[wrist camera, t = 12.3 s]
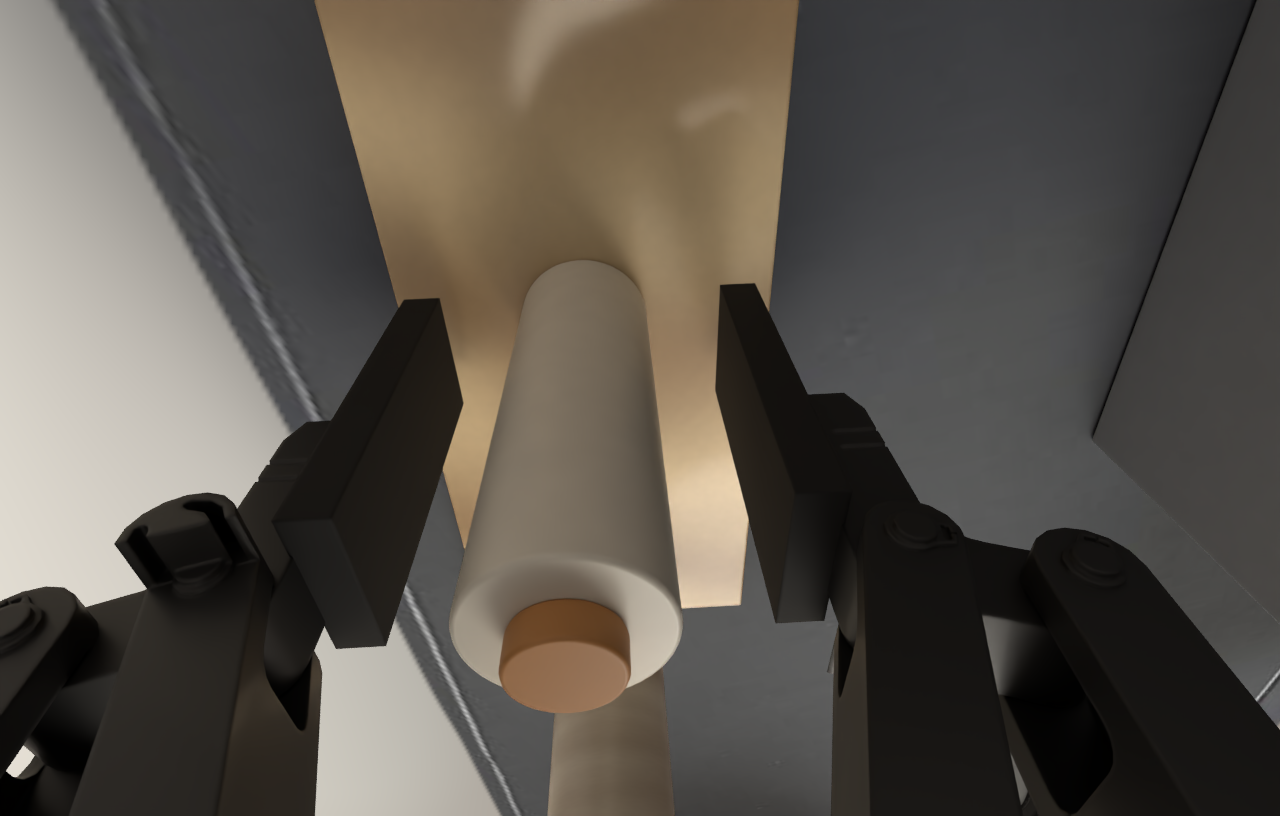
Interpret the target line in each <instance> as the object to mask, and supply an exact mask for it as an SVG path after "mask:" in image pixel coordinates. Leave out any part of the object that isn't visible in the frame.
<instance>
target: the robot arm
mask: <svg viewBox="0 0 1280 816" xmlns="http://www.w3.org/2000/svg"><path fill="white" fill-rule="evenodd" d="M715 392H716V396H717V400H718V403H719V407H720V411H721V415H722V419H723V423H724V426H725V430H726V434H727V438H728V442H729V446H730V450H731V453H732V457H733V461H734V465H735V469H736V473H737V476H738V480H739V484H740V488H741V492H742V496H743V500H744V503H745V507H746V511H747V515H748V519H749V523H750V526H751V530H752V534H753V538H754V542H755V546H756V550H757V553H758V557H759V561H760V565H761V569H762V573H763V576H764V580H765V584H766V588H767V592H768V596H769V600H770V603H771V607H772V611H773V615H774V619H775V623H789V622H807V621H824V619H825V614H826V610H827V605H828V601H829V598H830V601H831V603H832V606H833V609H834V612H835V615H836V618H837V620H838V623H839V625H838V629H837V633H836V637H835V641H834V645H833V650H832V654H831V658H830V662H829V666H828V670H827V672H828V673H833V674H834V681H833V737H832V792H831V816H1023V812H1022V807H1021V802H1020V797H1019V792H1018V787H1017V783H1016V778H1015V773H1014V768H1013V763H1012V758H1011V755H1012V757H1013V759H1014V762H1015V764H1016V766H1017V768H1018V770H1019V773H1020V775H1021V777H1022V779H1023V782H1024V784H1025V786H1026V788H1027V790H1028V793H1029V795H1030V797H1031V799H1032V802H1033V804H1034V806H1035V808H1036V810H1037V813H1038V815H1039V816H1280V730H1279V728H1278V727H1277V726H1276V725H1275V723H1274V722H1273V721H1272V720H1271V718H1270V717H1269V716H1268V715H1267V714H1266V712H1265V711H1264V710H1263V709H1262V707H1261V706H1260V705H1259V704H1258V703H1257V701H1256V700H1255V699H1254V698H1253V696H1252V695H1251V694H1250V693H1249V691H1248V690H1247V689H1246V688H1245V687H1244V685H1243V684H1242V683H1241V682H1240V680H1239V679H1238V678H1237V677H1236V676H1235V674H1234V673H1233V672H1232V671H1231V669H1230V668H1229V667H1228V666H1227V664H1226V663H1225V662H1224V661H1223V660H1222V658H1221V657H1220V656H1219V655H1218V653H1217V652H1216V651H1215V650H1214V648H1213V647H1212V646H1211V645H1210V644H1209V642H1208V641H1207V640H1206V639H1205V637H1204V636H1203V635H1202V634H1201V633H1200V631H1199V630H1198V629H1197V628H1196V626H1195V625H1194V624H1193V623H1192V621H1191V620H1190V619H1189V618H1188V617H1187V615H1186V614H1185V613H1184V612H1183V610H1182V609H1181V608H1180V607H1179V606H1178V604H1177V603H1176V602H1175V601H1174V599H1173V598H1172V597H1171V596H1170V594H1169V593H1168V592H1167V591H1166V590H1165V588H1164V587H1163V586H1162V585H1161V583H1160V582H1159V581H1158V580H1157V578H1156V577H1155V576H1154V575H1153V574H1152V572H1151V571H1150V570H1149V569H1148V567H1147V566H1146V565H1145V564H1144V563H1143V562H1142V561H1140V560H1139V559H1138V558H1137V557H1136V556H1135V555H1134V554H1133V553H1132V552H1131V551H1130V550H1128V549H1126V548H1124V547H1123V546H1121V545H1119V544H1118V543H1116V542H1114V541H1112V540H1111V539H1109V538H1106V537H1104V536H1101V535H1098V534H1095V533H1092V532H1089V531H1086V530H1079V529H1071V528H1060V529H1054V530H1048V531H1046V532H1044V533H1043V534H1042V535H1040V536H1039V537H1038V538H1036V540H1035V542H1034V544H1033V546H1032V548H1031V550H1030V551H1029V550H1024V549H1018V548H1013V547H1007V546H1002V545H997V544H991V543H986V542H982V541H978V540H974V539H970V538H967V537H965V536H964V535H963V533H962V530H961V528H960V527H959V526H958V525H957V524H956V523H955V522H954V521H953V520H951V519H950V518H949V517H948V516H947V515H946V514H944V513H942V512H940V511H938V510H936V509H935V508H933V507H931V506H929V505H925V504H921V503H920V502H919V500H918V499H917V497H916V495H915V493H914V492H913V490H912V488H911V487H910V485H909V483H908V482H907V480H906V478H905V476H904V475H903V473H902V471H901V470H900V468H899V466H898V464H897V463H896V461H895V459H894V458H893V456H892V454H891V453H890V451H889V449H888V447H885V442H884V441H883V439H882V437H881V435H880V434H879V432H878V431H876V427H875V425H874V424H873V422H872V420H871V418H870V417H869V415H868V413H867V412H866V410H865V408H863V407H862V406H861V405H859V404H858V403H857V402H855V401H854V400H853V399H851V398H850V397H849V396H847V395H846V394H845V393H831V394H812V395H808V394H807V392H806V390H805V388H804V386H803V383H802V381H801V379H800V377H799V375H798V373H797V371H796V369H795V367H794V364H793V362H792V360H791V358H790V356H789V354H788V352H787V350H786V348H785V345H784V343H783V341H782V339H781V337H780V335H779V333H778V331H777V328H776V326H775V324H774V322H773V320H772V318H771V316H770V314H769V312H768V309H767V307H766V305H765V303H764V301H763V299H762V297H761V295H760V293H759V290H758V288H757V286H756V284H755V283H745V284H724V285H720V295H719V317H718V339H717V360H716V382H715ZM463 404H464V402H463V397H462V393H461V389H460V384H459V380H458V376H457V371H456V367H455V363H454V358H453V354H452V350H451V345H450V341H449V337H448V332H447V328H446V324H445V319H444V315H443V311H442V306H441V302H440V298H426V299H405V300H403V302H402V303H401V305H400V307H399V308H398V310H397V312H396V313H395V315H394V317H393V318H392V320H391V322H390V323H389V325H388V327H387V328H386V330H385V332H384V333H383V335H382V337H381V338H380V340H379V342H378V343H377V345H376V347H375V348H374V350H373V352H372V353H371V355H370V357H369V358H368V360H367V362H366V363H365V365H364V367H363V369H362V370H361V372H360V374H359V375H358V377H357V379H356V380H355V382H354V384H353V385H352V387H351V389H350V390H349V392H348V394H347V395H346V397H345V399H344V400H343V402H342V404H341V405H340V407H339V409H338V410H337V412H336V414H335V415H334V417H333V419H332V420H331V421H317V422H306V423H305V424H304V425H303V426H301V427H300V428H299V429H297V430H296V431H295V432H294V433H292V434H291V435H290V436H288V437H287V438H286V439H285V440H283V442H282V443H281V445H280V446H279V448H278V449H277V451H276V452H275V454H274V455H273V457H272V458H271V460H270V465H267V466H266V467H265V468H264V470H263V471H262V473H261V474H260V476H259V481H258V482H255V483H254V485H253V486H252V488H251V489H250V491H249V492H248V494H247V495H246V497H245V498H244V500H243V501H242V502H241V504H240V506H239V507H238V508H236V506H235V504H234V503H233V502H232V501H231V500H229V499H228V498H227V497H226V496H224V495H219V494H213V493H201V494H192V495H186V496H183V497H180V498H177V499H174V500H171V501H168V502H165V503H163V504H161V505H160V506H157V507H155V508H153V509H152V510H150V511H148V512H146V513H144V514H142V515H141V516H140V517H139V518H137V519H136V520H135V521H134V522H133V523H131V524H130V525H129V526H128V527H126V528H125V529H124V531H123V532H122V534H121V535H120V537H119V538H118V539H117V541H116V542H115V545H116V547H117V548H118V549H119V551H120V552H121V554H122V555H123V556H124V558H125V559H126V561H127V562H128V563H129V565H130V566H131V567H132V569H133V570H134V572H135V573H136V574H137V576H138V577H139V578H140V580H141V581H142V583H143V584H144V585H145V586H146V588H147V589H146V590H144V591H141V592H138V593H134V594H131V595H127V596H124V597H120V598H117V599H113V600H110V601H106V602H103V603H99V604H95V605H92V606H89V607H85V606H84V605H83V604H82V603H81V602H80V600H79V599H78V598H77V597H76V596H75V595H74V594H73V593H71V592H70V591H68V590H67V589H65V588H61V587H42V588H38V589H33V590H30V591H24V592H21V593H19V594H16V595H14V596H12V597H9V598H7V599H4V600H2V601H0V816H315V801H316V782H317V763H318V742H319V724H320V704H321V686H322V670H321V665H320V661H319V659H318V657H317V655H316V654H315V652H314V649H315V647H316V645H317V642H318V640H319V638H320V635H321V633H322V631H323V628H324V626H325V628H326V630H327V632H328V634H329V636H330V638H331V640H332V642H333V644H334V646H335V648H336V649H342V648H358V647H376V646H386V644H387V641H388V638H389V635H390V632H391V629H392V625H393V622H394V619H395V616H396V613H397V610H398V607H399V604H400V601H401V597H402V594H403V591H404V588H405V585H406V582H407V579H408V576H409V572H410V569H411V566H412V563H413V560H414V557H415V554H416V551H417V547H418V544H419V541H420V538H421V535H422V532H423V529H424V526H425V523H426V519H427V516H428V513H429V510H430V507H431V504H432V501H433V498H434V494H435V491H436V488H437V485H438V482H439V479H440V476H441V473H442V470H443V466H444V463H445V460H446V457H447V454H448V451H449V448H450V445H451V441H452V438H453V435H454V432H455V429H456V426H457V423H458V420H459V417H460V413H461V410H462V407H463ZM23 745H24V746H25V747H26V748H28V750H30V751H31V752H32V753H33V754H34V755H35V756H34V758H33V759H32V761H31V763H30V764H29V765H28V766H27V767H26V768H25V770H24V771H23V772H22V773H21V774H20V775H19V776H18V777H12V776H11V775H10V774H8V773H7V772H6V770H7V768H8V767H9V765H10V764H11V762H12V761H13V760H14V758H15V757H16V755H17V754H18V752H19V750H20V749H21V748H22V746H23Z"/></svg>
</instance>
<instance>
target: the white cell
mask: <svg viewBox="0 0 1280 816" xmlns="http://www.w3.org/2000/svg"><path fill="white" fill-rule="evenodd" d="M449 629H450V634H451V638H452V641H453V644H454V646H455V648H456V650H457V652H458V654H459V655H460V656H461V658H462V659H463V660H464V661H465V662H466V664H467V665H468V666H469V667H470V668H472V669H473V670H474V671H475V672H477V673H478V674H479V675H481V676H482V677H484V678H486V679H487V680H489V681H491V682H493V683H495V684H497V685H499V686H502V687H503V689H504V690H505V692H506V693H507V694H508V695H509V696H510V697H512V698H513V699H514V700H516V701H517V702H519V703H521V704H523V705H525V706H527V707H530V708H533V709H536V710H540V711H545V712H553V713H576V712H583V711H588V710H592V709H596V708H598V707H601V706H604V705H606V704H608V703H610V702H611V701H613V700H614V699H616V698H617V697H618V696H619V695H620V694H621V693H622V692H623V691H624V690H625V688H628V687H631V686H633V685H635V684H637V683H639V682H641V681H643V680H645V679H646V678H648V677H650V676H651V675H653V674H654V673H655V672H657V671H658V670H659V669H660V668H661V667H662V666H664V665H665V664H666V663H667V662H668V660H669V659H670V658H671V656H672V655H673V654H674V652H675V650H676V648H677V646H678V644H679V641H680V638H681V635H682V630H683V616H682V608H681V599H680V591H679V583H678V574H677V566H676V558H675V549H674V541H673V533H672V524H671V516H670V507H669V499H668V491H667V482H666V474H665V466H664V457H663V449H662V441H661V432H660V424H659V416H658V407H657V399H656V391H655V382H654V374H653V365H652V357H651V349H650V340H649V332H648V324H647V315H646V307H645V304H644V300H643V298H642V295H641V293H640V291H639V290H638V288H637V287H636V285H635V284H634V283H633V282H632V280H630V279H629V278H628V277H627V276H626V275H625V274H624V273H622V272H621V271H619V270H618V269H616V268H614V267H612V266H610V265H607V264H605V263H601V262H597V261H591V260H575V261H569V262H565V263H561V264H559V265H556V266H554V267H552V268H550V269H549V270H547V271H546V272H544V273H543V274H542V275H540V276H539V277H538V278H537V279H536V280H535V282H534V283H533V284H532V286H531V287H530V289H529V291H528V293H527V295H526V298H525V300H524V304H523V309H522V313H521V317H520V321H519V325H518V330H517V334H516V338H515V342H514V346H513V351H512V355H511V359H510V363H509V367H508V372H507V376H506V380H505V384H504V388H503V393H502V397H501V401H500V405H499V409H498V413H497V418H496V422H495V426H494V430H493V434H492V439H491V443H490V447H489V451H488V455H487V460H486V464H485V468H484V472H483V476H482V481H481V485H480V489H479V493H478V497H477V502H476V506H475V510H474V514H473V518H472V523H471V527H470V531H469V535H468V539H467V544H466V548H465V552H464V556H463V560H462V565H461V569H460V573H459V577H458V581H457V586H456V590H455V594H454V598H453V602H452V607H451V611H450V617H449Z"/></svg>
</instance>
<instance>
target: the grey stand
mask: <svg viewBox="0 0 1280 816" xmlns="http://www.w3.org/2000/svg"><path fill="white" fill-rule="evenodd" d="M1093 442H1094V443H1095V444H1096V445H1097V446H1098V447H1099V448H1100V449H1101V450H1102V451H1103V452H1104V453H1105V454H1106V455H1107V456H1108V457H1109V458H1110V459H1111V460H1112V461H1113V462H1114V463H1115V464H1116V465H1117V466H1118V467H1119V468H1120V469H1121V470H1122V471H1123V472H1124V473H1126V474H1127V475H1128V476H1129V477H1130V478H1131V479H1132V480H1133V481H1134V482H1135V483H1136V484H1137V485H1138V486H1139V487H1140V488H1141V489H1142V490H1143V491H1144V492H1145V493H1146V494H1147V495H1148V496H1149V497H1150V498H1151V499H1152V500H1153V501H1154V502H1155V503H1156V504H1157V505H1158V506H1159V507H1160V508H1161V509H1162V510H1163V511H1164V512H1165V513H1166V514H1167V515H1169V516H1170V517H1171V518H1172V519H1173V520H1174V521H1175V522H1176V523H1177V524H1178V525H1179V526H1180V527H1181V528H1182V529H1183V530H1184V531H1185V532H1186V533H1187V534H1188V535H1189V536H1190V537H1191V538H1192V539H1193V540H1194V541H1195V542H1196V543H1197V544H1198V545H1199V546H1200V547H1201V548H1202V549H1203V550H1204V551H1205V552H1206V553H1207V554H1208V555H1209V556H1210V557H1211V558H1213V559H1214V560H1215V561H1216V562H1217V563H1218V564H1219V565H1220V566H1221V567H1222V568H1223V569H1224V570H1225V571H1226V572H1227V573H1228V574H1229V575H1230V576H1231V577H1232V578H1233V579H1234V580H1235V581H1236V582H1237V583H1238V584H1239V585H1240V586H1241V587H1242V588H1243V589H1244V590H1245V591H1246V592H1247V593H1248V594H1249V595H1250V596H1251V597H1252V598H1253V599H1254V600H1256V601H1257V602H1258V603H1259V604H1260V605H1261V606H1262V607H1263V608H1264V609H1265V610H1266V611H1267V612H1268V613H1269V614H1270V615H1271V616H1272V617H1273V618H1274V619H1275V620H1276V621H1277V622H1278V623H1279V624H1280V0H1257V1H1256V4H1255V6H1254V9H1253V12H1252V14H1251V17H1250V20H1249V22H1248V25H1247V28H1246V30H1245V33H1244V36H1243V38H1242V41H1241V44H1240V46H1239V49H1238V52H1237V54H1236V57H1235V60H1234V62H1233V65H1232V68H1231V70H1230V73H1229V76H1228V78H1227V81H1226V84H1225V86H1224V89H1223V92H1222V94H1221V97H1220V100H1219V102H1218V105H1217V108H1216V110H1215V113H1214V116H1213V118H1212V121H1211V124H1210V126H1209V129H1208V132H1207V134H1206V137H1205V140H1204V142H1203V145H1202V148H1201V150H1200V153H1199V156H1198V159H1197V161H1196V164H1195V167H1194V169H1193V172H1192V175H1191V177H1190V180H1189V183H1188V185H1187V188H1186V191H1185V193H1184V196H1183V199H1182V201H1181V204H1180V207H1179V209H1178V212H1177V215H1176V217H1175V220H1174V223H1173V225H1172V228H1171V231H1170V233H1169V236H1168V239H1167V241H1166V244H1165V247H1164V249H1163V252H1162V255H1161V257H1160V260H1159V263H1158V265H1157V268H1156V271H1155V273H1154V276H1153V279H1152V281H1151V284H1150V287H1149V289H1148V292H1147V295H1146V297H1145V300H1144V303H1143V305H1142V308H1141V311H1140V313H1139V316H1138V319H1137V321H1136V324H1135V327H1134V329H1133V332H1132V335H1131V337H1130V340H1129V343H1128V345H1127V348H1126V351H1125V354H1124V356H1123V359H1122V362H1121V364H1120V367H1119V370H1118V372H1117V375H1116V378H1115V380H1114V383H1113V386H1112V388H1111V391H1110V394H1109V396H1108V399H1107V402H1106V404H1105V407H1104V410H1103V412H1102V415H1101V418H1100V420H1099V423H1098V426H1097V428H1096V431H1095V434H1094V436H1093Z"/></svg>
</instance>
